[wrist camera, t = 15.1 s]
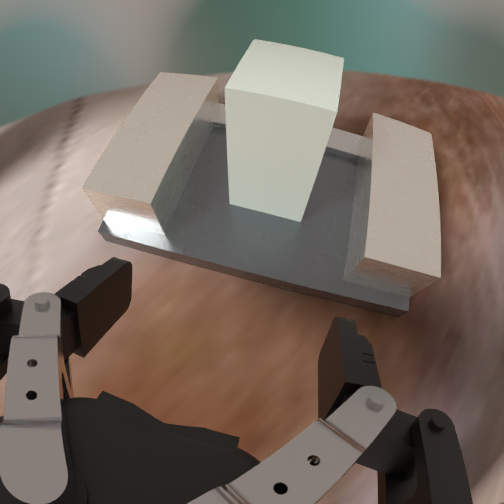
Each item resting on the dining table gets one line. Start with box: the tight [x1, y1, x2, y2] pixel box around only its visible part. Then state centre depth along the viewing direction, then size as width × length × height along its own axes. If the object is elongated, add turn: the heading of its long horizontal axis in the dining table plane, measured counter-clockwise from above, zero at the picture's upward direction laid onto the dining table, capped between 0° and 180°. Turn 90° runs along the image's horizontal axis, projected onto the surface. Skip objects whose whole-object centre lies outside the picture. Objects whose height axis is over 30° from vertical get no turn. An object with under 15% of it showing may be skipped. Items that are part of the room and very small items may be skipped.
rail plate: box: [82, 72, 441, 316], centre depth 22 cm, size 22×14×6 cm, turn 75°
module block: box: [225, 39, 344, 222], centre depth 18 cm, size 5×5×10 cm
